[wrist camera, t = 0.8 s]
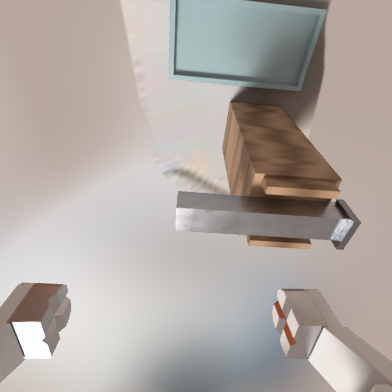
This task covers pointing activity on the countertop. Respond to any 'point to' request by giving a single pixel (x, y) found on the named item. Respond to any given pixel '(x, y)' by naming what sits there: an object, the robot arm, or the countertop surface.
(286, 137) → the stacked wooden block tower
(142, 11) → the countertop surface
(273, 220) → the gray rectangular bar
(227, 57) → the tray
